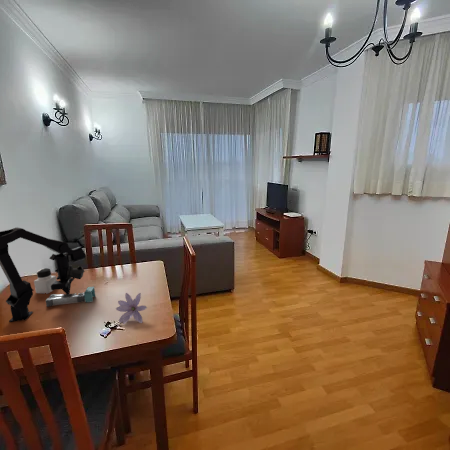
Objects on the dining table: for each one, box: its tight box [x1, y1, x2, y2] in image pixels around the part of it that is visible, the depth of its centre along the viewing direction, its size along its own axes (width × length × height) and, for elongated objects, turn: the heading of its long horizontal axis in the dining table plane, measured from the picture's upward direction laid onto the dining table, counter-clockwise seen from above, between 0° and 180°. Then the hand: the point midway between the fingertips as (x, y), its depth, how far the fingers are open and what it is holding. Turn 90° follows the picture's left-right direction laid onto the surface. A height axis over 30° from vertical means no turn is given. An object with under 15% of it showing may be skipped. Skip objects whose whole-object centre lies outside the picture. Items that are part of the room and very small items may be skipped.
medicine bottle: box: [33, 267, 58, 295], centre depth 138 cm, size 7×7×12 cm
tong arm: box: [48, 292, 78, 298], centre depth 128 cm, size 12×2×3 cm, turn 98°
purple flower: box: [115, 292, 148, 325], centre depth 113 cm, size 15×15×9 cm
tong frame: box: [45, 292, 86, 308], centre depth 126 cm, size 16×4×4 cm, turn 103°
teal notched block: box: [83, 286, 96, 303], centre depth 128 cm, size 3×6×5 cm, turn 12°
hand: (68, 294), depth 131 cm, fingers closed
